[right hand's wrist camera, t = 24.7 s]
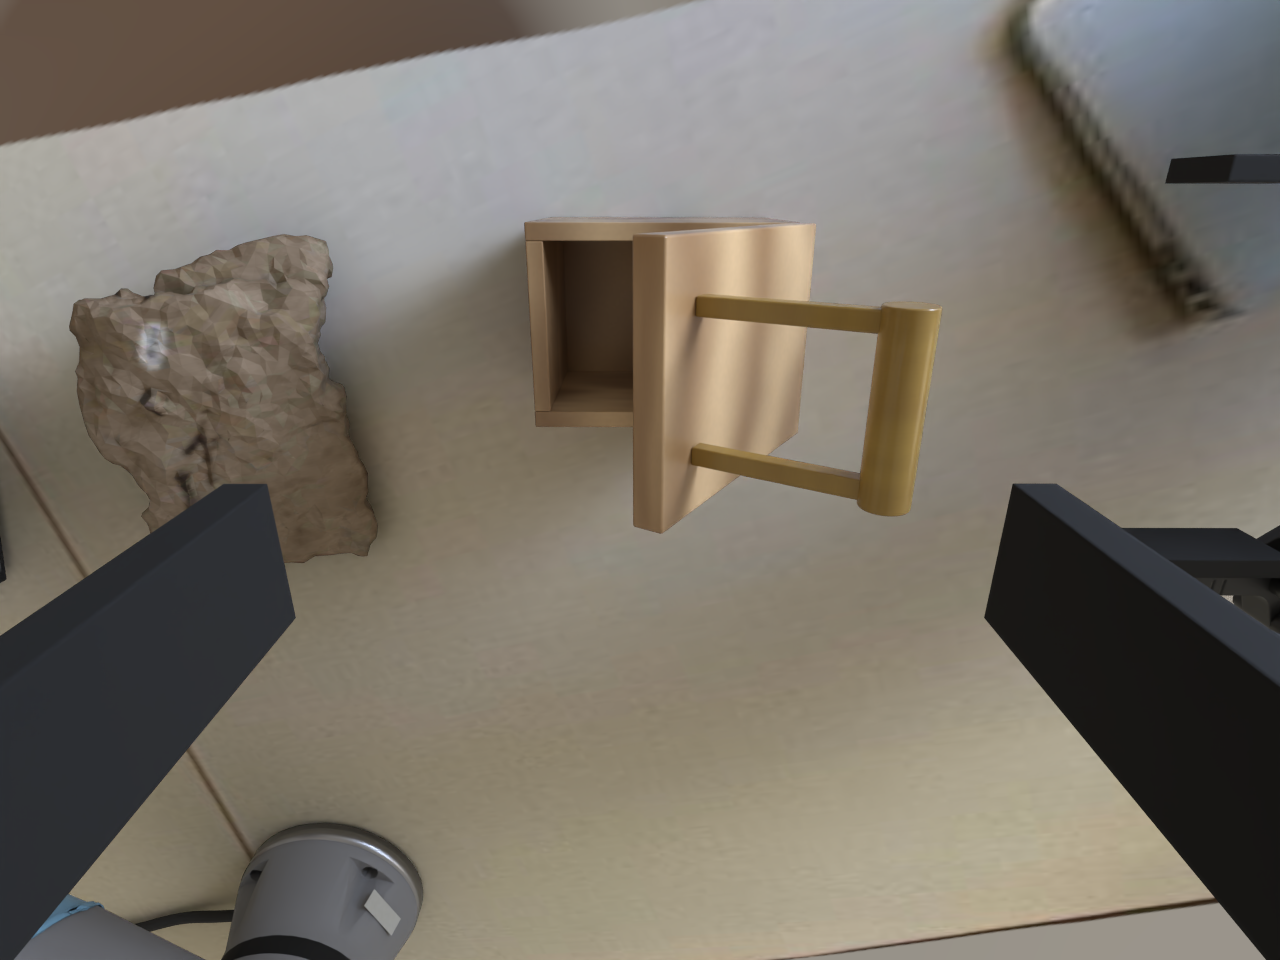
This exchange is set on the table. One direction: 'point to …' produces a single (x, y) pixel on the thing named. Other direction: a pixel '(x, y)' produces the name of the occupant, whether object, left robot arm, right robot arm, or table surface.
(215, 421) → the stone
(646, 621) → the table surface
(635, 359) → the lid
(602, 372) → the chest
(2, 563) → the graphics card box
